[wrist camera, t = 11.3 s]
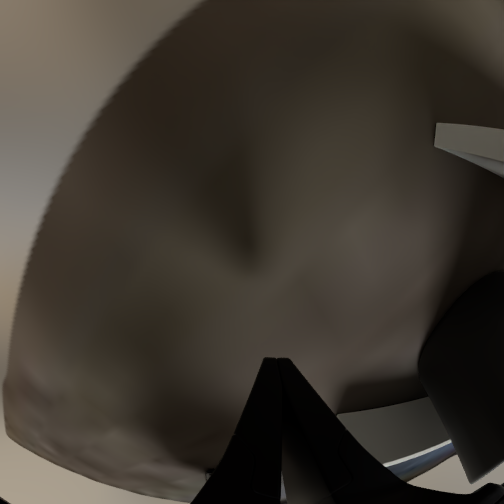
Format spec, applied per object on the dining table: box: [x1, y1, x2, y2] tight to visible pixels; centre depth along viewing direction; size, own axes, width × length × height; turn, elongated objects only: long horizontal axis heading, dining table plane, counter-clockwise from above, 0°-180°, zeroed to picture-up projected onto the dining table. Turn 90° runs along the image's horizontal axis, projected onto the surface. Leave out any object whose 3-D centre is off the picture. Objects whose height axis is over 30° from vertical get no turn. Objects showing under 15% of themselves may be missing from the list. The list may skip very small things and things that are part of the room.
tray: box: [337, 123, 504, 467], centre depth 10 cm, size 18×14×4 cm
